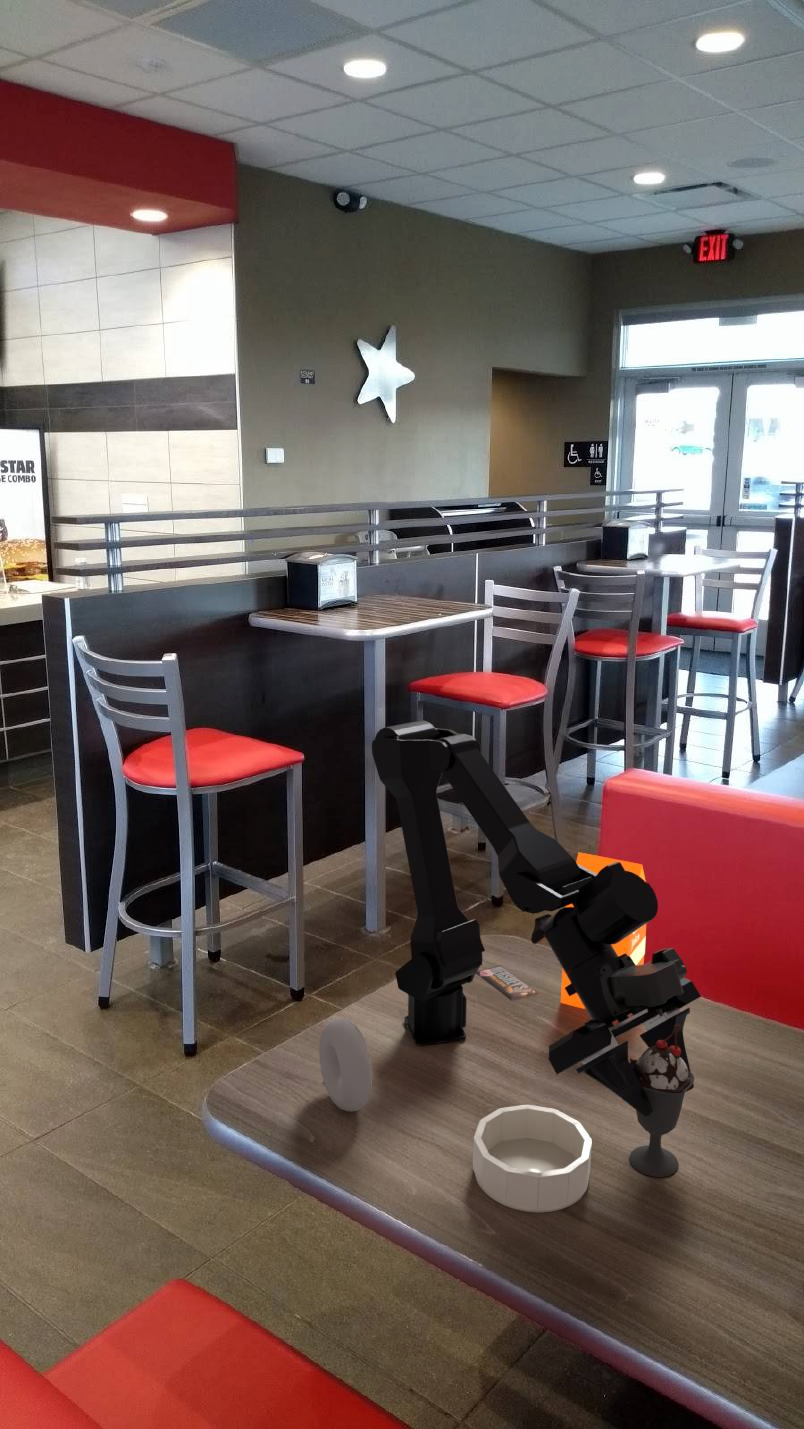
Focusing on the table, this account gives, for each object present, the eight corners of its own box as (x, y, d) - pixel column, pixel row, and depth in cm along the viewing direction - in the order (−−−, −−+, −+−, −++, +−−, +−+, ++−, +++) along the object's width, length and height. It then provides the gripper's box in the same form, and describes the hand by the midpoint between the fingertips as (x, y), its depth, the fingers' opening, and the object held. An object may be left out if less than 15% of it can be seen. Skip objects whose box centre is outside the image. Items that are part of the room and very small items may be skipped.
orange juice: (624, 1020, 138) (633, 874, 133) (559, 1002, 142) (566, 861, 138) (642, 994, 145) (652, 855, 140) (580, 978, 149) (587, 842, 144)
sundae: (692, 1151, 112) (703, 1021, 108) (680, 1190, 106) (691, 1053, 102) (629, 1134, 115) (638, 1007, 111) (614, 1171, 109) (622, 1038, 105)
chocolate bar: (469, 973, 151) (469, 968, 151) (498, 965, 153) (498, 960, 153) (514, 1007, 142) (514, 1002, 142) (544, 999, 144) (544, 993, 144)
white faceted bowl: (495, 1220, 101) (497, 1184, 101) (460, 1147, 112) (461, 1113, 111) (607, 1202, 104) (609, 1166, 103) (562, 1132, 115) (564, 1099, 114)
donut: (377, 1125, 116) (377, 1041, 113) (347, 1133, 114) (347, 1048, 112) (342, 1077, 125) (342, 999, 122) (314, 1084, 123) (313, 1005, 121)
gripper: (576, 956, 102) (664, 1113, 96) (692, 905, 113) (777, 1042, 108) (512, 1000, 109) (591, 1147, 104) (627, 948, 121) (704, 1078, 116)
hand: (670, 1102), depth 107 cm, fingers closed on sundae, 6 cm apart
